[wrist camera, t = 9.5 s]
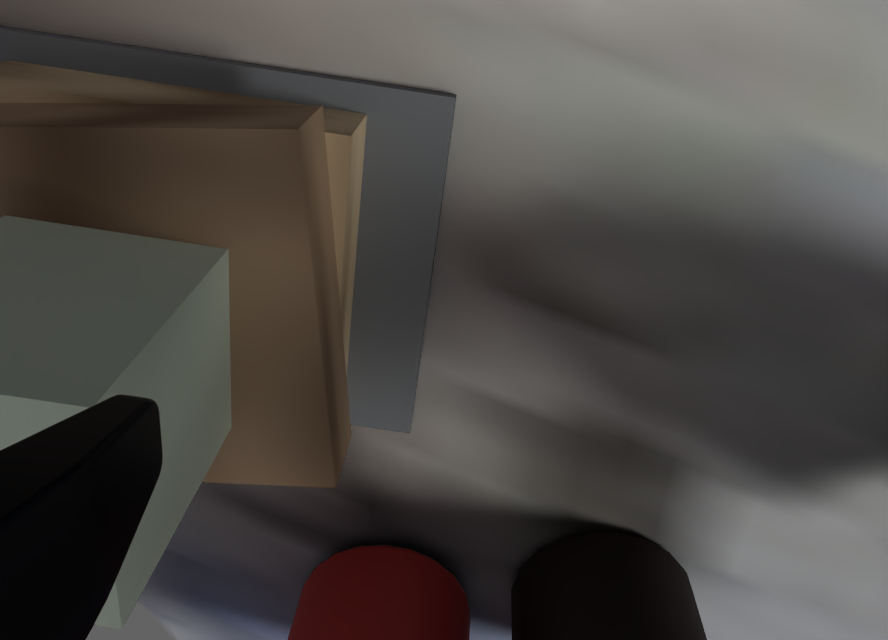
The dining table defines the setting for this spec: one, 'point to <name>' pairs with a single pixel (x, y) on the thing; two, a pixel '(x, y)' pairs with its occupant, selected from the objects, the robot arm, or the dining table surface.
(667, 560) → the bottle
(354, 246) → the slab bottom
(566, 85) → the dining table surface
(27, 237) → the sage block
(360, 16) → the dining table surface
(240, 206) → the slab top
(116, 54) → the mat
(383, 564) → the beer can
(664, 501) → the dining table surface
